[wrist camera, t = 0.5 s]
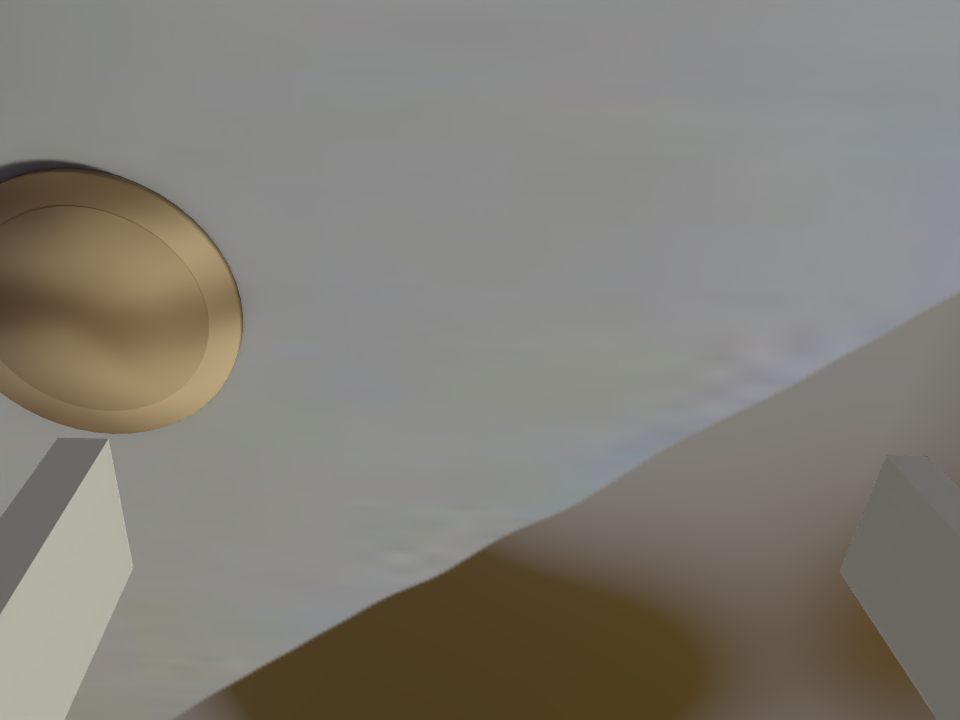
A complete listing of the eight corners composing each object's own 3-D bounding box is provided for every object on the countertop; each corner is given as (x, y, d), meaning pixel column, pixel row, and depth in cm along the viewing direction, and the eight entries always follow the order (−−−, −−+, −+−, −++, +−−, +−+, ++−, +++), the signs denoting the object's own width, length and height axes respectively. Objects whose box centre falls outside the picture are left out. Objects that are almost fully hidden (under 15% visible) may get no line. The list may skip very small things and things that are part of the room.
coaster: (-113, 199, 35) (-125, 205, 34) (186, 142, 35) (180, 146, 34) (26, 446, 42) (19, 455, 41) (277, 399, 42) (275, 408, 41)
